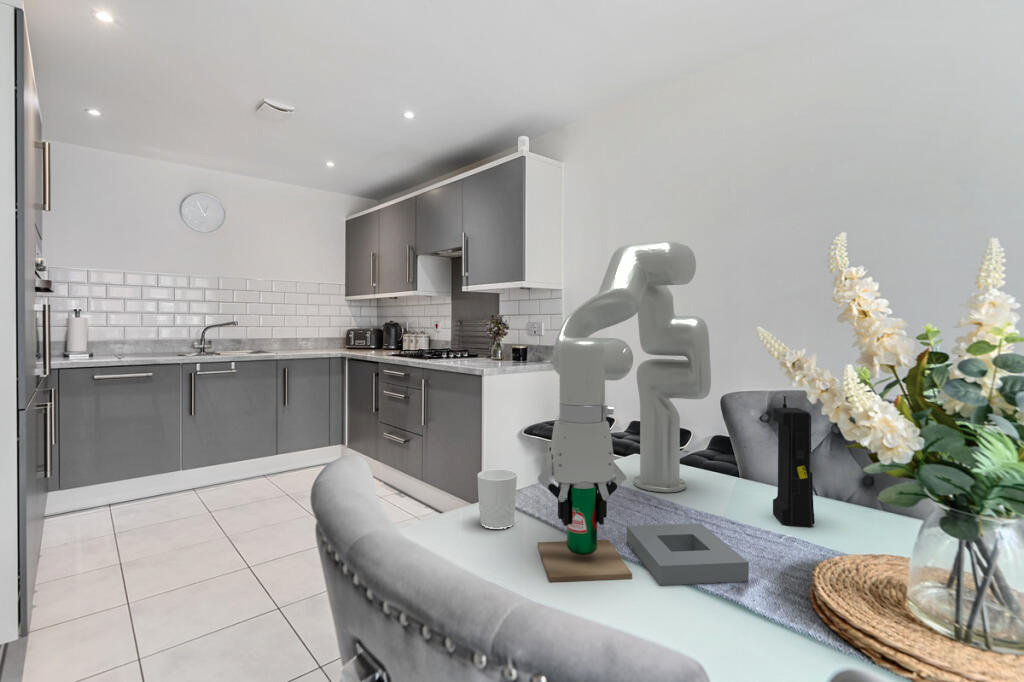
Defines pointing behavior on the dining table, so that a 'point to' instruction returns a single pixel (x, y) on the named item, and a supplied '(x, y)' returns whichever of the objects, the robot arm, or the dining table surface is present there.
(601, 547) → the walnut pad
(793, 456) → the portable radio
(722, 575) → the socket block
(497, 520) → the white cup
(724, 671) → the dining table surface
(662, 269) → the robot arm
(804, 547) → the dining table surface
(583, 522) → the soda can
